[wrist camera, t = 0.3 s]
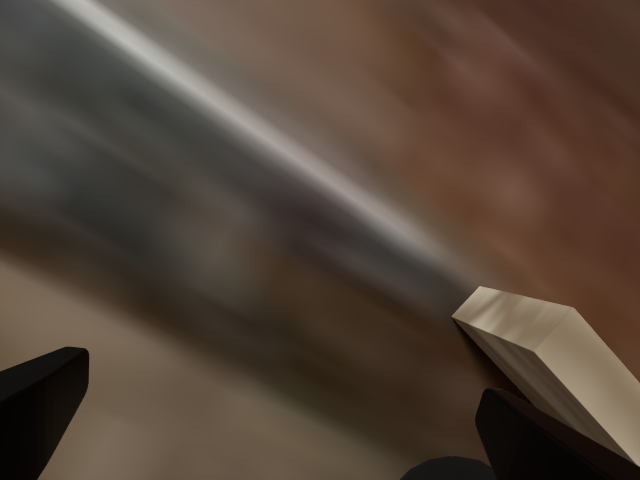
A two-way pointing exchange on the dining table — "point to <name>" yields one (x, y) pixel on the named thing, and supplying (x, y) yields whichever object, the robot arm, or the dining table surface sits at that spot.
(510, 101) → the dining table surface
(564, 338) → the bench stop
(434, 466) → the coffee jar
